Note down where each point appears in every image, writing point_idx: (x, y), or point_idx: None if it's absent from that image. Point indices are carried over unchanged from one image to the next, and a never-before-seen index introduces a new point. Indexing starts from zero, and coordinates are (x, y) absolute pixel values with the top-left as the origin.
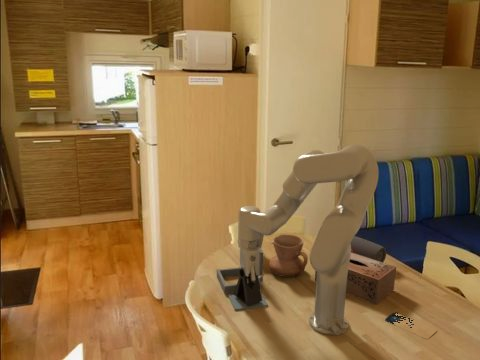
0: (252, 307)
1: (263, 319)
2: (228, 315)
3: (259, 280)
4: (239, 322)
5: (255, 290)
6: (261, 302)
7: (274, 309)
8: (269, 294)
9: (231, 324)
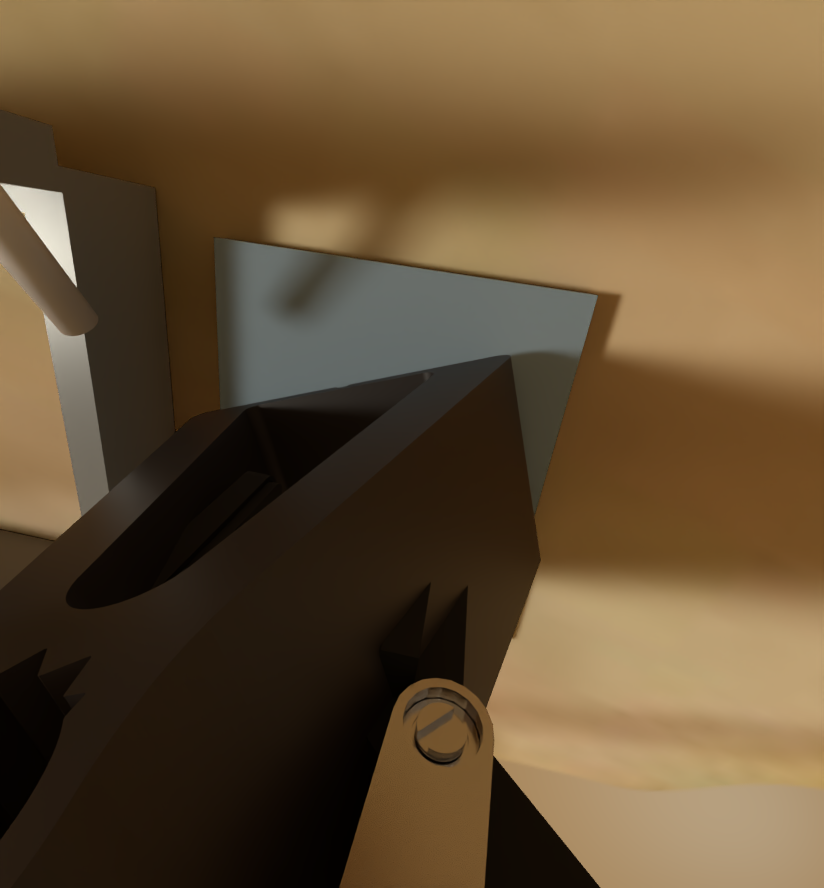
0: (540, 491)
1: (818, 482)
2: (541, 702)
3: (20, 186)
4: (698, 684)
5: (468, 519)
6: (501, 354)
7: (711, 240)
8: (306, 113)
9: (683, 739)
